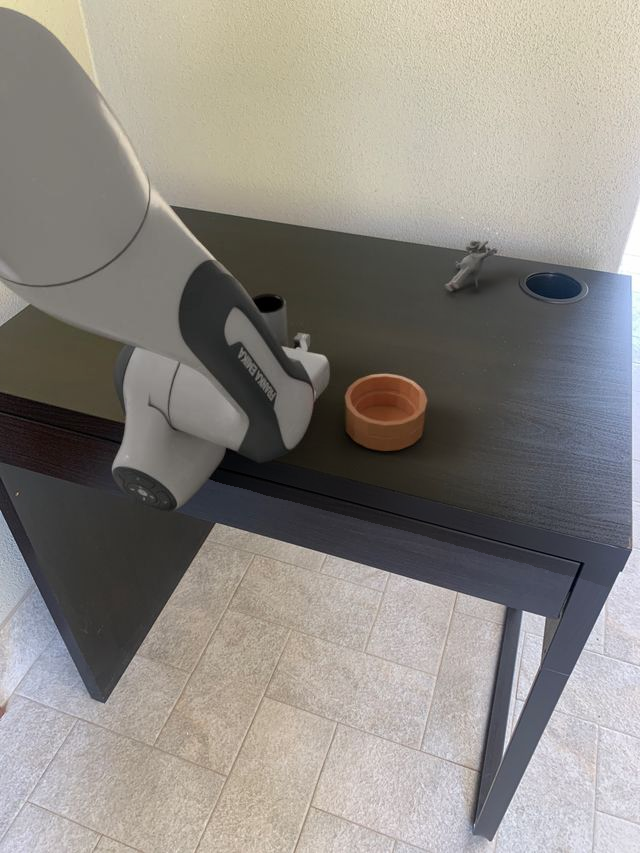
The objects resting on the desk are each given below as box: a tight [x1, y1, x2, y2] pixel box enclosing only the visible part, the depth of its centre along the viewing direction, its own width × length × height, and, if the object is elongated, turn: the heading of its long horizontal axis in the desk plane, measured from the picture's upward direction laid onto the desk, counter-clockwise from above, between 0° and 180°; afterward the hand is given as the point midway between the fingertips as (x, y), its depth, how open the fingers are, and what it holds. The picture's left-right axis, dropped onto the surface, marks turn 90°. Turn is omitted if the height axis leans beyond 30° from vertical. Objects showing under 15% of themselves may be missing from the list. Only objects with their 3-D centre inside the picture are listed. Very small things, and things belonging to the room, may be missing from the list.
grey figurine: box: [444, 240, 498, 293], centre depth 104 cm, size 10×6×9 cm
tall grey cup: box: [251, 293, 289, 348], centre depth 85 cm, size 4×4×10 cm
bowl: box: [343, 373, 428, 452], centre depth 79 cm, size 9×9×4 cm
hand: (270, 330), depth 86 cm, fingers open, 8 cm apart
